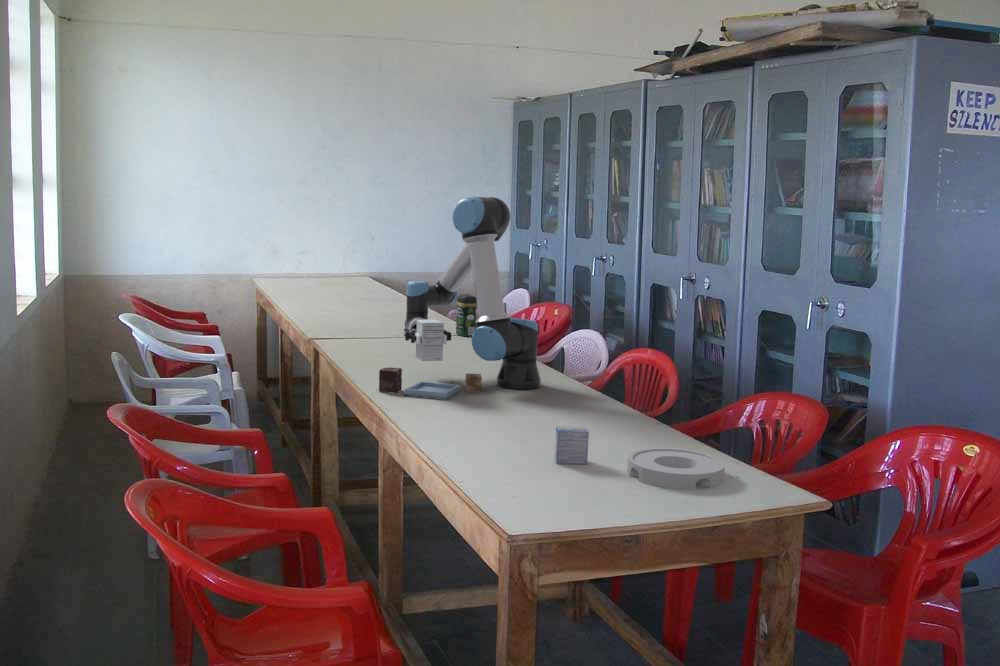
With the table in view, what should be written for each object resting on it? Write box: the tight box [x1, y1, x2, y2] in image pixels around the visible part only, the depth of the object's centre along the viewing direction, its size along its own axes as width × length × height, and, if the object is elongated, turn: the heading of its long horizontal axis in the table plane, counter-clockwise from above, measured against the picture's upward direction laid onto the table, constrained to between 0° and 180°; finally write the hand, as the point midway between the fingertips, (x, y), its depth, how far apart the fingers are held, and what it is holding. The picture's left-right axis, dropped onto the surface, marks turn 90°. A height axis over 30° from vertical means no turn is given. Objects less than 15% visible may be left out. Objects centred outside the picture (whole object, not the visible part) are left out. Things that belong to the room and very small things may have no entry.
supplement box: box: [415, 319, 445, 362], centre depth 321 cm, size 7×7×13 cm
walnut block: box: [464, 373, 483, 392], centre depth 329 cm, size 5×5×5 cm
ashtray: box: [626, 447, 725, 491], centre depth 240 cm, size 23×23×4 cm
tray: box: [404, 380, 461, 401], centre depth 321 cm, size 14×14×2 cm
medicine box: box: [554, 425, 590, 465], centre depth 247 cm, size 8×4×9 cm, turn 92°
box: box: [378, 366, 403, 394], centre depth 322 cm, size 6×6×7 cm
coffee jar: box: [455, 293, 478, 337], centre depth 445 cm, size 10×8×19 cm
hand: (432, 340), depth 316 cm, fingers closed on supplement box, 8 cm apart
